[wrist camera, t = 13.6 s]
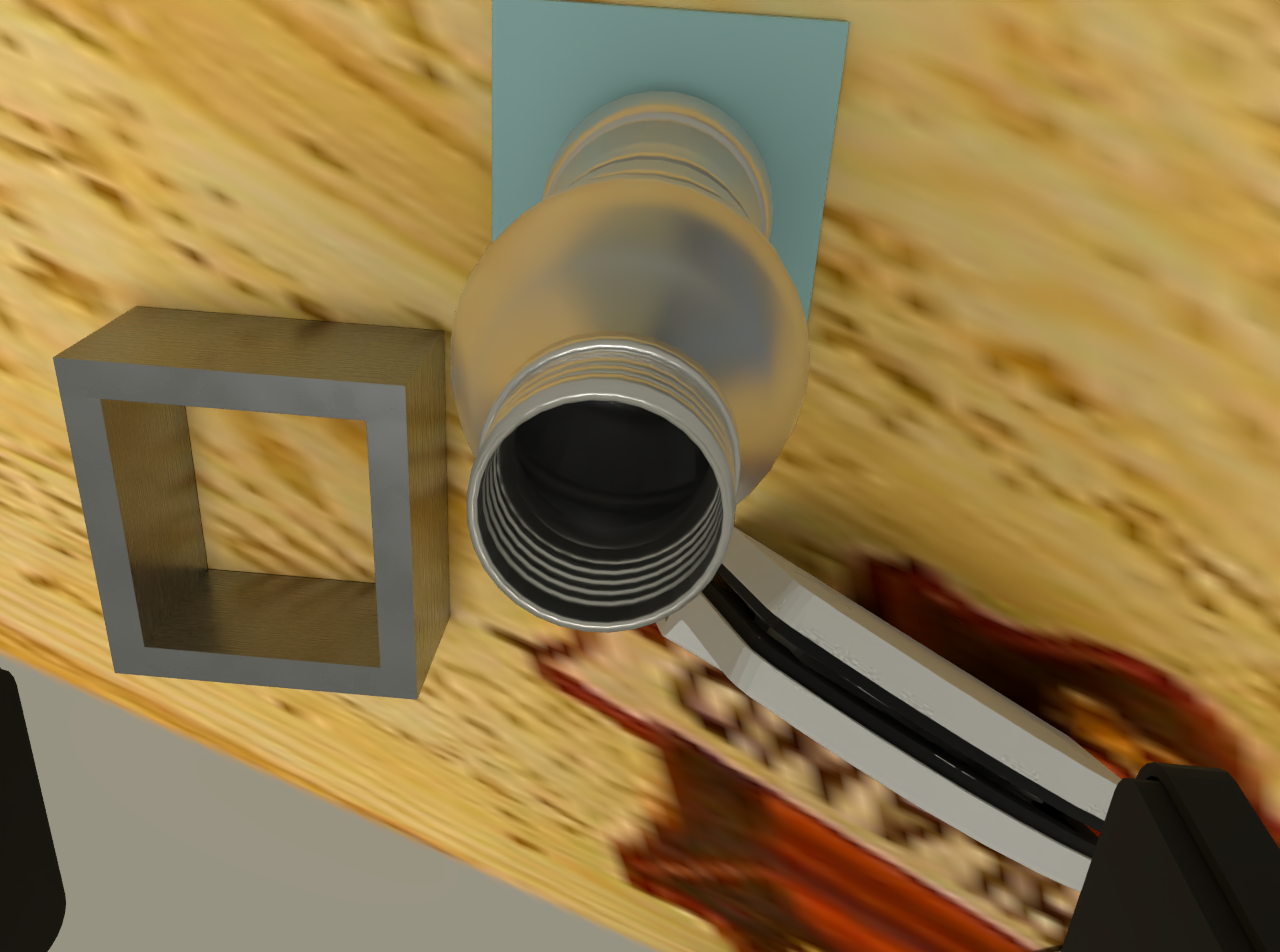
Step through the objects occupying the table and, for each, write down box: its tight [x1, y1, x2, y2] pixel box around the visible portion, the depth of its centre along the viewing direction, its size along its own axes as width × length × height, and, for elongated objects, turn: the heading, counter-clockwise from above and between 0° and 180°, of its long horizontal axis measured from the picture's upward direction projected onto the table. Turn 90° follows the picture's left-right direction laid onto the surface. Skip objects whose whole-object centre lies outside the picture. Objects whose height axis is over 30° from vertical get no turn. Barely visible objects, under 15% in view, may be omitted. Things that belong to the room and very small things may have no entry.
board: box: [492, 0, 850, 323], centre depth 32 cm, size 10×10×1 cm
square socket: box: [53, 306, 450, 700], centre depth 36 cm, size 11×10×5 cm
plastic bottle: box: [450, 91, 810, 632], centre depth 23 cm, size 6×7×20 cm
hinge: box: [656, 527, 1122, 892], centre depth 36 cm, size 17×5×10 cm, turn 56°
